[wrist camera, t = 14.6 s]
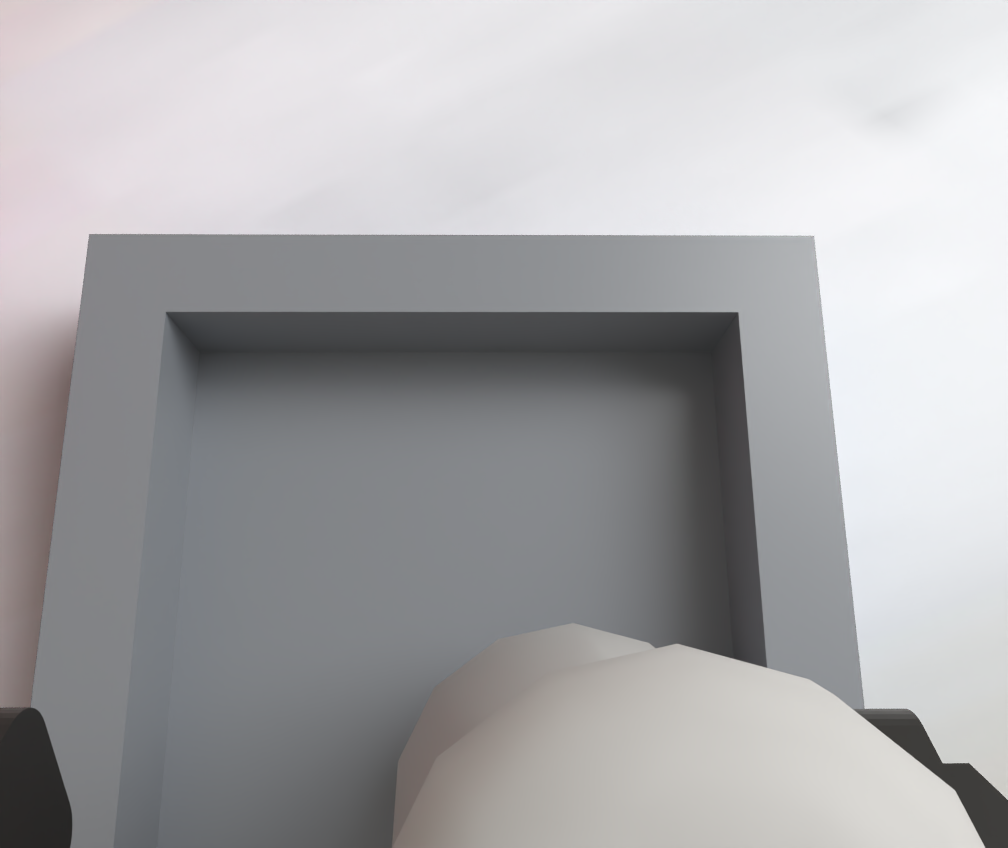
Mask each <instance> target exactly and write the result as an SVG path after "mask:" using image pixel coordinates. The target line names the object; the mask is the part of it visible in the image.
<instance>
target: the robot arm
mask: <svg viewBox="0 0 1008 848" xmlns="http://www.w3.org/2000/svg"><path fill="white" fill-rule="evenodd" d="M853 710H854V711H856V712H857V713H858V714H859V715H861V716H862V717H863V718H864V719H866V720H867V721H868V722H869V723H871V724H872V725H873V726H874V727H876V728H877V729H878V730H880V731H881V732H882V733H883V734H885V735H886V736H887V737H888V738H890V739H891V740H892V741H893V742H895V743H896V744H897V745H898V746H900V747H901V748H902V749H903V750H905V751H906V752H907V753H909V754H910V755H911V756H912V757H914V758H915V759H916V760H917V761H919V762H920V763H921V764H922V765H924V766H925V767H926V768H927V769H929V770H930V771H931V772H932V773H934V774H935V775H936V776H938V777H939V778H940V779H941V780H943V781H944V782H945V783H946V784H948V785H949V786H950V787H951V788H953V789H954V790H955V791H956V793H957V795H958V797H959V799H960V801H961V803H962V804H963V806H964V808H965V810H966V812H967V814H968V816H969V818H970V820H971V822H972V823H973V825H974V827H975V829H976V831H977V833H978V835H979V837H980V839H981V840H982V842H983V844H984V846H985V848H1008V800H1007V799H1006V798H1005V797H1004V796H1003V795H1002V794H1001V793H1000V792H999V791H998V790H997V789H996V788H995V787H993V786H992V785H991V784H990V783H989V782H988V781H987V780H986V779H985V778H984V777H983V776H982V775H981V774H980V773H979V772H978V771H977V770H976V769H974V768H973V767H972V766H971V765H970V764H969V763H952V764H943V763H942V761H941V760H940V758H939V756H938V754H937V752H936V750H935V748H934V746H933V744H932V742H931V740H930V739H929V737H928V735H927V733H926V731H925V729H924V727H923V725H922V724H921V722H920V720H919V719H918V717H917V716H916V715H915V714H914V713H913V712H912V711H910V710H908V709H853ZM72 826H73V824H72V810H71V806H70V802H69V799H68V796H67V792H66V789H65V786H64V783H63V779H62V776H61V773H60V770H59V766H58V763H57V760H56V757H55V753H54V750H53V747H52V744H51V740H50V737H49V734H48V731H47V727H46V724H45V721H44V719H43V716H42V715H41V713H40V712H39V711H38V710H37V709H35V708H0V848H70V846H71V839H72Z"/></svg>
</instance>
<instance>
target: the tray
mask: <svg viewBox="0 0 1008 848" xmlns="http://www.w3.org/2000/svg"><path fill="white" fill-rule="evenodd" d="M571 623H575V624H579V625H583V626H586V627H590V628H594V629H598V630H602V631H605V632H609V633H613V634H617V635H621V636H624V637H628V638H632V639H636V640H640V641H643V642H647V643H650V644H651V645H652V646H653V647H654V648H660V647H664V646H669V645H673V644H680V645H684V646H688V647H692V648H695V649H699V650H703V651H706V652H710V653H714V654H717V655H721V656H725V657H728V658H732V659H736V660H740V661H743V662H747V663H751V664H754V665H758V666H762V667H765V668H769V669H773V670H776V671H780V672H784V673H788V674H791V675H795V676H799V677H802V678H806V679H809V680H811V681H813V682H814V683H816V684H818V685H819V686H821V687H823V688H824V689H826V690H827V691H829V692H831V693H832V694H834V695H835V696H837V697H838V698H839V699H840V700H842V701H843V702H844V703H845V704H847V705H848V706H849V707H850V708H852V709H864V699H863V690H862V681H861V671H860V662H859V653H858V643H857V634H856V625H855V615H854V606H853V597H852V587H851V578H850V569H849V559H848V550H847V541H846V531H845V522H844V513H843V503H842V494H841V485H840V475H839V466H838V457H837V447H836V438H835V429H834V419H833V410H832V401H831V391H830V382H829V373H828V363H827V354H826V345H825V335H824V326H823V317H822V307H821V298H820V289H819V279H818V270H817V261H816V251H815V242H814V236H635V235H197V234H89V241H88V249H87V257H86V265H85V273H84V281H83V289H82V297H81V305H80V313H79V321H78V329H77V337H76V345H75V353H74V361H73V369H72V377H71V385H70V393H69V401H68V409H67V417H66V425H65V433H64V441H63V449H62V457H61V465H60V473H59V482H58V490H57V498H56V506H55V514H54V522H53V530H52V538H51V546H50V554H49V562H48V570H47V578H46V586H45V594H44V602H43V610H42V618H41V626H40V634H39V642H38V650H37V658H36V666H35V674H34V682H33V690H32V698H31V706H30V708H35V709H37V710H38V711H39V712H40V713H41V715H42V716H43V719H44V721H45V724H46V727H47V731H48V734H49V737H50V740H51V744H52V747H53V750H54V753H55V757H56V760H57V763H58V766H59V770H60V773H61V776H62V779H63V783H64V786H65V789H66V792H67V796H68V799H69V802H70V806H71V810H72V824H73V826H72V839H71V846H70V848H392V839H393V825H394V810H395V796H396V782H397V768H398V760H399V758H400V756H401V754H402V752H403V750H404V748H405V746H406V744H407V742H408V740H409V738H410V736H411V734H412V732H413V730H414V728H415V726H416V724H417V722H418V720H419V718H420V716H421V714H422V712H423V709H424V707H425V705H426V703H427V701H428V699H429V697H430V695H431V693H432V691H433V689H434V687H436V686H437V685H438V684H440V683H441V682H442V681H444V680H445V679H446V678H447V677H449V676H450V675H451V674H453V673H454V672H455V671H457V670H458V669H459V668H461V667H462V666H463V665H465V664H466V663H467V662H469V661H470V660H471V659H473V658H474V657H475V656H477V655H478V654H479V653H481V652H482V651H483V650H485V649H486V648H487V647H489V646H490V645H491V644H493V643H494V642H495V641H497V640H498V639H501V638H506V637H511V636H515V635H520V634H524V633H529V632H534V631H538V630H543V629H548V628H552V627H557V626H561V625H566V624H571Z"/></svg>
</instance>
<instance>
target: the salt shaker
mask: <svg viewBox="0 0 1008 848" xmlns="http://www.w3.org/2000/svg"><path fill="white" fill-rule="evenodd" d="M392 848H985V846H984V844H983V842H982V840H981V839H980V837H979V835H978V833H977V831H976V829H975V827H974V825H973V823H972V822H971V820H970V818H969V816H968V814H967V812H966V810H965V808H964V806H963V804H962V803H961V801H960V799H959V797H958V795H957V793H956V791H955V790H954V789H953V788H951V787H950V786H949V785H948V784H946V783H945V782H944V781H943V780H941V779H940V778H939V777H938V776H936V775H935V774H934V773H932V772H931V771H930V770H929V769H927V768H926V767H925V766H924V765H922V764H921V763H920V762H919V761H917V760H916V759H915V758H914V757H912V756H911V755H910V754H909V753H907V752H906V751H905V750H903V749H902V748H901V747H900V746H898V745H897V744H896V743H895V742H893V741H892V740H891V739H890V738H888V737H887V736H886V735H885V734H883V733H882V732H881V731H880V730H878V729H877V728H876V727H874V726H873V725H872V724H871V723H869V722H868V721H867V720H866V719H864V718H863V717H862V716H861V715H859V714H858V713H857V712H856V711H854V710H853V709H852V708H850V707H849V706H848V705H847V704H845V703H844V702H843V701H842V700H840V699H839V698H838V697H837V696H835V695H834V694H832V693H831V692H829V691H827V690H826V689H824V688H823V687H821V686H819V685H818V684H816V683H814V682H813V681H811V680H809V679H806V678H802V677H799V676H795V675H791V674H788V673H784V672H780V671H776V670H773V669H769V668H765V667H762V666H758V665H754V664H751V663H747V662H743V661H740V660H736V659H732V658H728V657H725V656H721V655H717V654H714V653H710V652H706V651H703V650H699V649H695V648H692V647H688V646H684V645H680V644H673V645H669V646H664V647H660V648H654V647H653V646H652V645H651V644H650V643H647V642H643V641H640V640H636V639H632V638H628V637H624V636H621V635H617V634H613V633H609V632H605V631H602V630H598V629H594V628H590V627H586V626H583V625H579V624H575V623H571V624H566V625H561V626H557V627H552V628H548V629H543V630H538V631H534V632H529V633H524V634H520V635H515V636H511V637H506V638H501V639H498V640H497V641H495V642H494V643H493V644H491V645H490V646H489V647H487V648H486V649H485V650H483V651H482V652H481V653H479V654H478V655H477V656H475V657H474V658H473V659H471V660H470V661H469V662H467V663H466V664H465V665H463V666H462V667H461V668H459V669H458V670H457V671H455V672H454V673H453V674H451V675H450V676H449V677H447V678H446V679H445V680H444V681H442V682H441V683H440V684H438V685H437V686H436V687H434V689H433V691H432V693H431V695H430V697H429V699H428V701H427V703H426V705H425V707H424V709H423V712H422V714H421V716H420V718H419V720H418V722H417V724H416V726H415V728H414V730H413V732H412V734H411V736H410V738H409V740H408V742H407V744H406V746H405V748H404V750H403V752H402V754H401V756H400V758H399V760H398V768H397V782H396V796H395V810H394V825H393V839H392Z"/></svg>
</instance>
